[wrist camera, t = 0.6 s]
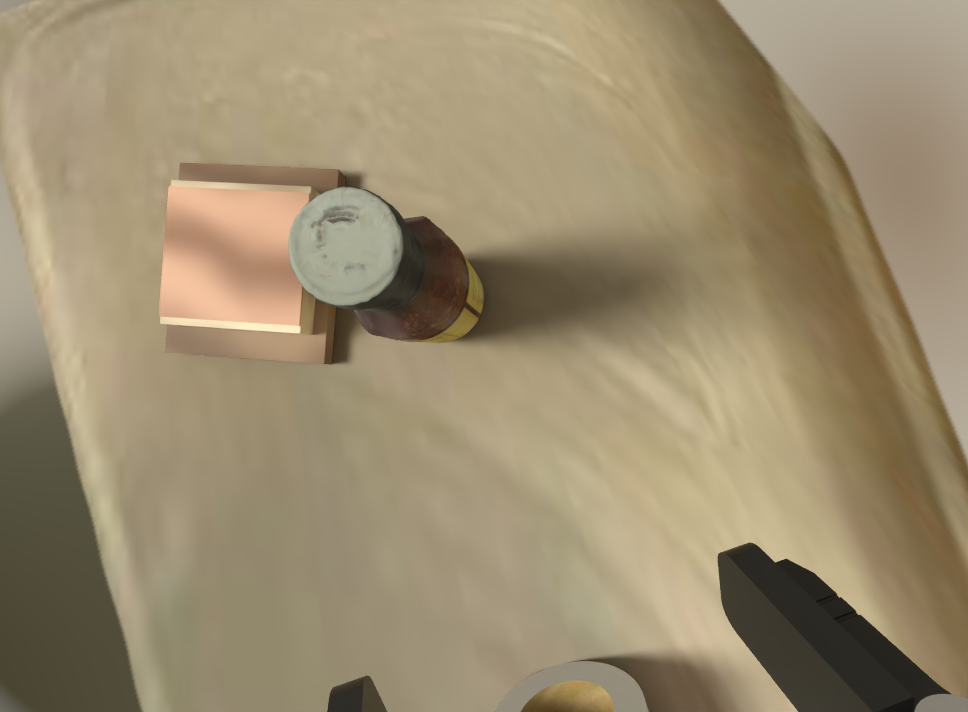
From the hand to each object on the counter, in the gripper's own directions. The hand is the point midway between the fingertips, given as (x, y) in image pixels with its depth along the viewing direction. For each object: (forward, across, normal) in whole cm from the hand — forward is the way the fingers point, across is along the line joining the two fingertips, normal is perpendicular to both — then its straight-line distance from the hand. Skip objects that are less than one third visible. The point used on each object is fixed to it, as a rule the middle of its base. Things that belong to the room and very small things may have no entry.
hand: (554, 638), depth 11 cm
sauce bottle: (+28, -1, -1) cm, 28 cm away
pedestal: (+32, +12, -7) cm, 34 cm away
